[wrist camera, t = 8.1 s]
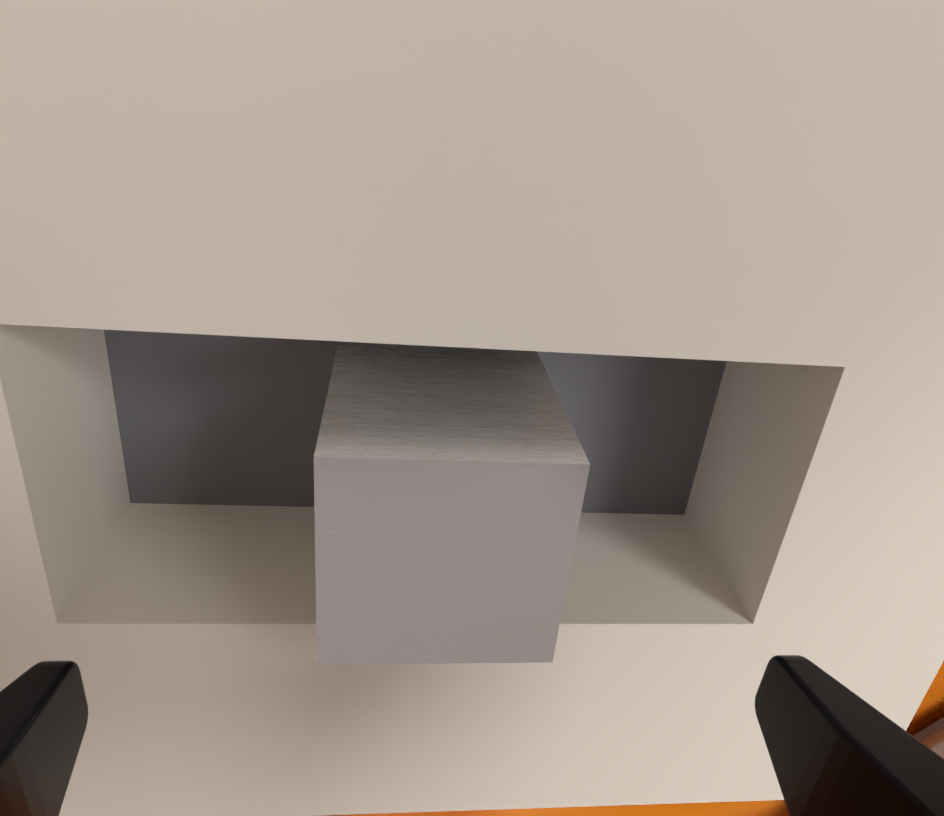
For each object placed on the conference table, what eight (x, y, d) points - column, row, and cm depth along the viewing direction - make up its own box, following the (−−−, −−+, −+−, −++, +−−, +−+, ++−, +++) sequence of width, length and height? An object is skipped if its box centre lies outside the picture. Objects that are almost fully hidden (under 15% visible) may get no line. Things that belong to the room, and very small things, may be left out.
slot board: (1040, 21, 14) (1295, 6, 10) (785, 662, 22) (870, 797, 18) (-281, -141, 11) (-662, -253, 7) (-27, 669, 19) (-139, 831, 15)
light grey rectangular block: (524, 325, 15) (589, 464, 10) (505, 476, 17) (552, 662, 12) (343, 316, 15) (313, 457, 10) (342, 472, 17) (316, 664, 11)
